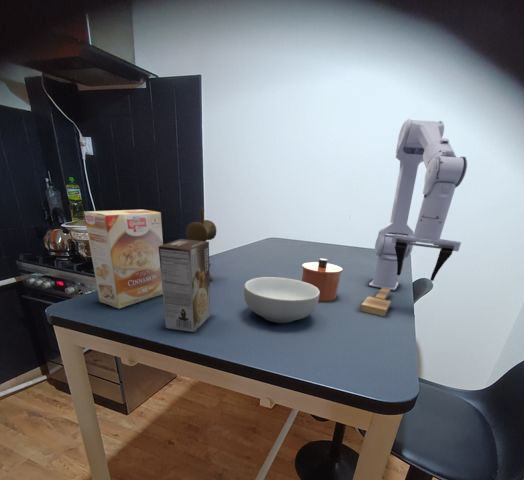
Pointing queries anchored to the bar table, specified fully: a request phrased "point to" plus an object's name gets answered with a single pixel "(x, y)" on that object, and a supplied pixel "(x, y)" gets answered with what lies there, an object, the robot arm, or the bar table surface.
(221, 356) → the bar table surface
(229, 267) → the bar table surface
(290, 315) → the cereal bowl
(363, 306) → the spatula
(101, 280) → the coffeecake box
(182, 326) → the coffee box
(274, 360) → the bar table surface
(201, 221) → the kendama
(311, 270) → the pot lid
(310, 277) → the pot
